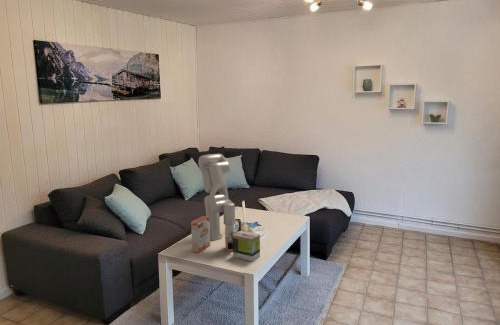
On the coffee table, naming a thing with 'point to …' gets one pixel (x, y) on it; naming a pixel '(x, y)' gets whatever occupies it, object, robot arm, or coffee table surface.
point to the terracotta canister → (227, 246)
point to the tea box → (246, 245)
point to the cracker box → (200, 234)
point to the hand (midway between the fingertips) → (229, 245)
